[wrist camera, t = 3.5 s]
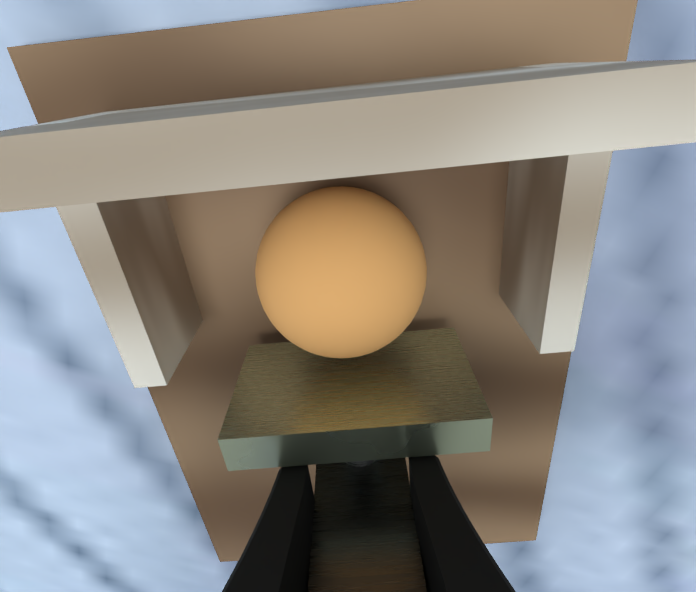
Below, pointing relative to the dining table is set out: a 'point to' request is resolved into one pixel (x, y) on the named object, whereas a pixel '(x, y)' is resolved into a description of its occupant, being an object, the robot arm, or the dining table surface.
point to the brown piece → (350, 171)
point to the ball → (341, 272)
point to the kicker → (358, 444)
